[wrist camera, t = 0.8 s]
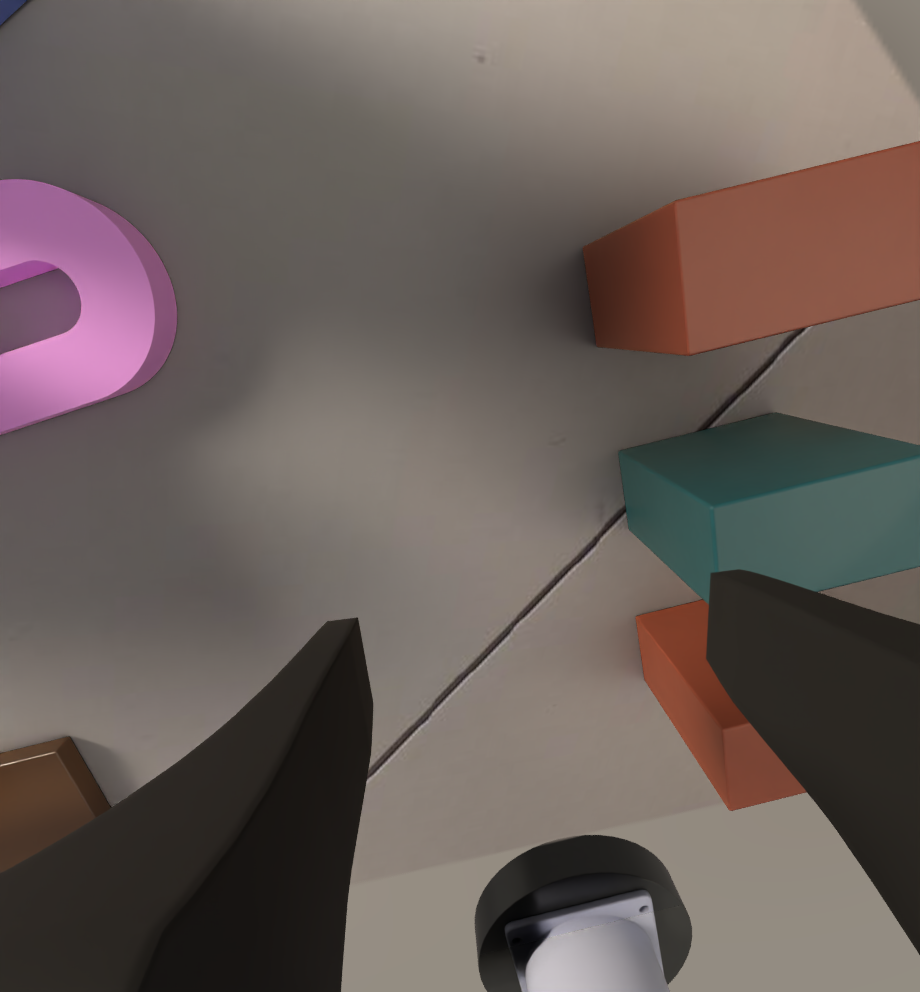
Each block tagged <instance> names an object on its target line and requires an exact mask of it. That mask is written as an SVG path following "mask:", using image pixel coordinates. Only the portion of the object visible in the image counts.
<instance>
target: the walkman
mask: <svg viewBox="0 0 920 992" xmlns="http://www.w3.org/2000/svg"><path fill="white" fill-rule="evenodd" d="M26 1H27V0H0V25H1V24H2V23H3V22H4V21H5V20H6V19H8V18H9V17H10V16H11V15H12V14H13V13H14V12H15V11H16V10H17V9H18V8H19V7H20V6H22V5H23V4H24V3H25V2H26Z"/></svg>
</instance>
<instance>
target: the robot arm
mask: <svg viewBox="0 0 920 992" xmlns="http://www.w3.org/2000/svg"><path fill="white" fill-rule="evenodd" d="M706 660H707V661H708V663H709V665H710V666H711V668H712V670H713V671H714V673H715V675H716V676H717V678H718V680H719V681H720V683H721V685H722V686H723V688H724V689H725V691H726V692H727V694H728V695H729V697H730V698H731V700H732V702H733V703H734V704H735V705H736V707H737V708H738V709H739V710H740V712H741V713H742V714H743V715H744V717H745V718H746V719H747V720H748V721H749V723H750V724H751V725H752V726H753V728H754V729H755V730H756V731H757V733H758V734H759V735H760V736H761V737H762V739H763V740H764V741H765V742H766V743H767V745H768V746H769V747H770V748H771V749H772V751H773V752H774V753H775V754H776V755H777V757H778V758H779V759H780V760H781V761H782V763H783V764H784V765H785V766H786V767H787V769H788V770H789V771H790V772H791V773H792V775H793V776H794V777H795V778H796V780H797V781H798V782H799V783H800V784H801V786H802V787H803V788H804V789H805V790H806V792H807V793H808V794H809V795H810V796H811V798H812V799H813V800H814V801H815V802H816V804H817V805H818V806H819V808H820V809H821V810H822V811H823V813H824V814H825V815H826V817H827V818H828V819H829V821H830V822H831V823H832V825H833V826H834V827H835V829H836V830H837V831H838V833H839V834H840V836H841V837H842V839H843V840H844V842H845V843H846V845H847V846H848V848H849V849H850V850H851V852H852V853H853V855H854V856H855V858H856V859H857V861H858V862H859V863H860V865H861V866H862V868H863V869H864V871H865V872H866V874H867V875H868V877H869V878H870V879H871V881H872V882H873V884H874V885H875V887H876V888H877V890H878V891H879V893H880V895H881V896H882V897H883V899H884V901H885V902H886V904H887V905H888V907H889V908H890V910H891V911H892V913H893V915H894V916H895V918H896V919H897V921H898V922H899V924H900V925H901V927H902V928H903V930H904V931H905V933H906V934H907V936H908V938H909V939H910V941H911V942H912V943H913V945H914V947H915V948H916V950H917V951H918V953H919V955H920V625H919V624H916V623H912V622H909V621H906V620H902V619H899V618H895V617H892V616H889V615H885V614H882V613H879V612H876V611H873V610H869V609H866V608H863V607H860V606H857V605H854V604H851V603H848V602H845V601H842V600H839V599H836V598H833V597H830V596H827V595H824V594H821V593H818V592H815V591H812V590H809V589H806V588H803V587H800V586H797V585H794V584H791V583H788V582H785V581H782V580H778V579H775V578H772V577H769V576H765V575H762V574H758V573H755V572H751V571H746V570H741V569H737V570H729V571H721V572H713V573H710V592H709V611H708V630H707V649H706ZM372 726H373V699H372V693H371V688H370V682H369V676H368V671H367V665H366V660H365V654H364V648H363V643H362V637H361V632H360V626H359V621H358V618H350V619H342V620H334V621H327V622H326V623H325V624H324V625H323V626H322V627H321V628H320V629H319V630H318V631H317V632H316V634H315V635H314V636H313V637H312V638H311V639H310V640H309V641H308V642H307V643H306V645H305V646H304V647H303V648H302V649H301V650H300V651H299V652H298V653H297V654H296V655H295V656H294V657H293V659H292V660H291V661H290V662H289V663H288V664H287V665H286V666H285V667H284V668H283V669H282V670H281V671H280V672H279V673H278V674H277V675H276V676H275V677H274V678H273V679H272V681H270V682H269V683H268V684H267V685H266V686H265V687H264V688H263V689H262V690H261V691H260V692H259V693H258V694H257V695H256V696H255V697H254V698H253V699H252V700H250V701H249V702H248V703H247V704H246V705H245V706H244V707H243V708H242V709H241V710H240V711H239V712H238V713H237V714H236V715H235V716H234V717H232V718H231V719H230V720H229V721H228V722H227V723H226V724H224V725H223V726H222V727H221V728H220V729H218V730H217V731H216V732H215V733H214V734H213V735H211V736H210V737H209V738H208V739H206V740H205V741H204V742H203V743H201V744H200V745H199V746H198V747H196V748H195V749H194V750H192V751H191V752H190V753H189V754H187V755H186V756H185V757H184V758H182V759H181V760H180V761H178V762H177V763H176V764H174V765H173V766H171V767H170V768H169V769H167V770H166V771H164V772H163V773H161V774H160V775H158V776H157V777H156V778H154V779H153V780H151V781H150V782H148V783H147V784H146V785H144V786H143V787H141V788H140V789H138V790H137V791H135V792H134V793H133V794H131V795H130V796H128V797H127V798H125V799H124V800H122V801H121V802H120V803H118V804H117V805H115V806H114V807H112V808H110V809H109V810H107V811H106V812H104V813H103V814H101V815H99V816H98V817H96V818H94V819H93V820H91V821H90V822H88V823H86V824H85V825H83V826H82V827H80V828H78V829H77V830H75V831H74V832H72V833H70V834H68V835H67V836H65V837H63V838H62V839H60V840H58V841H57V842H55V843H53V844H51V845H50V846H48V847H46V848H45V849H43V850H41V851H40V852H38V853H36V854H34V855H33V856H31V857H29V858H27V859H25V860H24V861H22V862H20V863H18V864H17V865H15V866H13V867H11V868H9V869H8V870H6V871H4V872H2V873H0V992H341V981H342V966H343V952H344V940H345V928H346V915H347V914H346V913H347V902H348V893H349V885H350V877H351V870H352V864H353V858H354V852H355V846H356V840H357V834H358V828H359V822H360V816H361V811H362V805H363V799H364V793H365V787H366V781H367V775H368V768H369V762H370V756H371V746H372ZM505 935H506V939H507V942H508V946H509V949H510V952H511V956H512V959H513V962H514V966H515V969H516V973H517V976H518V979H519V983H520V986H521V989H522V992H670V991H669V988H668V985H667V983H666V980H665V977H664V971H663V965H662V959H661V953H660V947H659V941H658V935H657V929H656V923H655V916H654V910H653V904H652V899H651V897H650V894H649V892H648V891H646V890H643V889H640V890H635V891H631V892H627V893H623V894H619V895H615V896H611V897H607V898H603V899H599V900H595V901H591V902H587V903H583V904H579V905H575V906H571V907H567V908H563V909H559V910H555V911H551V912H547V913H543V914H539V915H535V916H531V917H527V918H523V919H518V920H514V921H511V922H509V923H508V924H506V926H505Z"/></svg>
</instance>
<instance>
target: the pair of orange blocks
mask: <svg viewBox="0 0 920 992" xmlns="http://www.w3.org/2000/svg"><path fill="white" fill-rule="evenodd" d="M583 254H584V261H585V268H586V275H587V282H588V289H589V296H590V303H591V310H592V317H593V324H594V331H595V338H596V345H597V347H601V348H612V349H622V350H633V351H643V352H654V353H664V354H674V355H685V356H692V355H696V354H700V353H704V352H708V351H712V350H716V349H720V348H724V347H728V346H732V345H737V344H741V343H745V342H749V341H753V340H757V339H761V338H765V337H769V336H773V335H778V334H782V333H786V332H790V331H794V330H798V329H802V328H806V327H810V326H814V325H818V324H823V323H827V322H831V321H835V320H839V319H843V318H847V317H851V316H855V315H859V314H864V313H868V312H872V311H876V310H880V309H884V308H888V307H892V306H896V305H900V304H904V303H909V302H913V301H917V300H920V141H918V142H914V143H910V144H906V145H901V146H897V147H893V148H889V149H885V150H881V151H877V152H873V153H869V154H864V155H860V156H856V157H852V158H848V159H844V160H840V161H836V162H831V163H827V164H823V165H819V166H815V167H811V168H807V169H803V170H799V171H794V172H790V173H786V174H782V175H778V176H774V177H770V178H766V179H761V180H757V181H753V182H749V183H745V184H741V185H737V186H733V187H729V188H724V189H720V190H716V191H712V192H708V193H704V194H700V195H696V196H692V197H687V198H683V199H679V200H675V201H673V202H671V203H669V204H667V205H665V206H663V207H661V208H659V209H657V210H655V211H653V212H651V213H649V214H647V215H645V216H643V217H641V218H639V219H637V220H635V221H633V222H631V223H629V224H627V225H625V226H623V227H621V228H619V229H617V230H615V231H613V232H611V233H609V234H607V235H605V236H603V237H601V238H599V239H597V240H595V241H593V242H591V243H589V244H587V245H585V246H584V247H583ZM708 611H709V605H708V604H707V603H706V602H705V601H704V600H699V601H695V602H691V603H687V604H683V605H679V606H675V607H671V608H667V609H663V610H659V611H655V612H651V613H647V614H643V615H639V616H636V623H637V630H638V637H639V644H640V651H641V658H642V665H643V672H644V679H645V681H646V683H647V685H648V686H649V688H650V689H651V691H652V692H653V694H654V695H655V697H656V698H657V700H658V702H659V703H660V705H661V706H662V708H663V709H664V711H665V712H666V714H667V715H668V717H669V718H670V720H671V722H672V723H673V725H674V726H675V728H676V729H677V731H678V732H679V734H680V735H681V737H682V738H683V740H684V742H685V743H686V745H687V746H688V748H689V749H690V751H691V752H692V754H693V755H694V757H695V758H696V760H697V762H698V763H699V765H700V766H701V768H702V769H703V771H704V772H705V774H706V775H707V777H708V779H709V780H710V782H711V783H712V785H713V786H714V788H715V789H716V791H717V792H718V794H719V795H720V797H721V799H722V800H723V802H724V803H725V805H726V806H727V808H728V809H729V810H730V811H733V810H737V809H741V808H745V807H749V806H753V805H757V804H761V803H765V802H769V801H773V800H778V799H781V798H786V797H789V796H794V795H797V794H801V793H806V790H805V789H804V788H803V787H802V786H801V784H800V783H799V782H798V781H797V780H796V778H795V777H794V776H793V775H792V773H791V772H790V771H789V770H788V769H787V767H786V766H785V765H784V764H783V763H782V761H781V760H780V759H779V758H778V757H777V755H776V754H775V753H774V752H773V751H772V749H771V748H770V747H769V746H768V745H767V743H766V742H765V741H764V740H763V739H762V737H761V736H760V735H759V734H758V733H757V731H756V730H755V729H754V728H753V726H752V725H751V724H750V723H749V721H748V720H747V719H746V718H745V717H744V715H743V714H742V713H741V712H740V710H739V709H738V708H737V707H736V705H735V704H734V703H733V702H732V700H731V698H730V697H729V695H728V694H727V692H726V691H725V689H724V688H723V686H722V685H721V683H720V681H719V680H718V678H717V676H716V675H715V673H714V671H713V670H712V668H711V666H710V665H709V663H708V661H707V660H706V649H707V630H708Z"/></svg>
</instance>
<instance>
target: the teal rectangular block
mask: <svg viewBox="0 0 920 992" xmlns="http://www.w3.org/2000/svg"><path fill="white" fill-rule="evenodd" d="M618 455H619V462H620V469H621V476H622V484H623V491H624V498H625V505H626V512H627V519H628V527H629V530H630V531H631V532H632V533H633V534H634V535H635V536H636V537H637V538H638V539H639V540H640V541H641V542H643V543H644V544H645V545H646V546H647V547H648V548H649V549H650V550H651V551H652V552H653V553H654V554H655V555H656V556H657V557H658V558H660V559H661V560H662V561H663V562H664V563H665V564H666V565H667V566H668V567H669V568H670V569H671V570H672V571H673V572H674V573H675V574H676V575H678V576H679V577H680V578H681V579H682V580H683V581H684V582H685V583H686V584H687V585H688V586H689V587H690V588H691V589H692V590H693V591H694V592H696V593H697V594H698V595H699V596H700V597H701V598H702V599H703V600H704V601H705V602H706V603H707V604H708V605H709V592H710V573H713V572H721V571H729V570H737V569H741V570H746V571H751V572H755V573H758V574H762V575H765V576H769V577H772V578H775V579H778V580H782V581H785V582H788V583H791V584H794V585H797V586H800V587H803V588H806V589H809V590H812V591H815V592H819V591H823V590H827V589H831V588H835V587H839V586H844V585H848V584H852V583H856V582H860V581H864V580H868V579H872V578H876V577H880V576H884V575H888V574H892V573H896V572H900V571H904V570H908V569H913V568H917V567H920V445H916V444H912V443H907V442H903V441H899V440H894V439H890V438H885V437H881V436H877V435H872V434H868V433H864V432H859V431H855V430H851V429H846V428H842V427H838V426H833V425H829V424H825V423H820V422H816V421H812V420H807V419H803V418H798V417H794V416H790V415H785V414H781V413H772V414H768V415H764V416H759V417H755V418H751V419H747V420H743V421H739V422H735V423H731V424H727V425H723V426H719V427H715V428H710V429H706V430H702V431H698V432H694V433H690V434H686V435H682V436H678V437H674V438H670V439H665V440H661V441H657V442H653V443H649V444H645V445H641V446H637V447H633V448H629V449H625V450H621V451H619V453H618Z"/></svg>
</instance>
